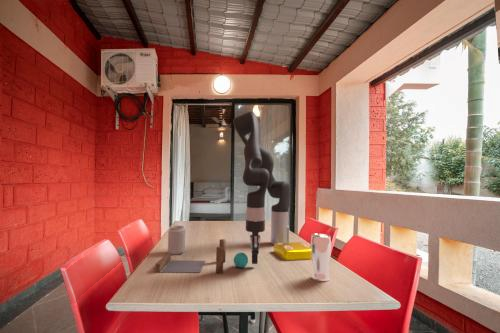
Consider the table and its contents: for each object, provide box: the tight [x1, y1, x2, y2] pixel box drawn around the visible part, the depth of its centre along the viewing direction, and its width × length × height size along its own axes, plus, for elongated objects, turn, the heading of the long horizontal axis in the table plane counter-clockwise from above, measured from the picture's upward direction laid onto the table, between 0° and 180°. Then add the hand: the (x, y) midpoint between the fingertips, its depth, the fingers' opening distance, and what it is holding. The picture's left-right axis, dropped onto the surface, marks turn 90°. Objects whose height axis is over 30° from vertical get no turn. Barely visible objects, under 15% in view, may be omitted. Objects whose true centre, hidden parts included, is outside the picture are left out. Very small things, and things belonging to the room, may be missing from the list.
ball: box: [233, 252, 249, 269], centre depth 106 cm, size 6×6×6 cm
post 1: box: [218, 238, 227, 264], centre depth 113 cm, size 3×3×9 cm
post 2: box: [215, 246, 224, 275], centre depth 100 cm, size 3×3×9 cm
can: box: [167, 225, 186, 256], centre depth 125 cm, size 8×8×12 cm
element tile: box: [273, 241, 312, 261], centre depth 125 cm, size 15×15×5 cm
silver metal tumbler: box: [310, 233, 332, 282], centre depth 96 cm, size 7×7×15 cm
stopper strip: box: [155, 252, 172, 274], centre depth 106 cm, size 2×14×3 cm, turn 1°
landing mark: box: [160, 259, 206, 274], centre depth 106 cm, size 14×14×1 cm
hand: (254, 263), depth 106 cm, fingers closed
